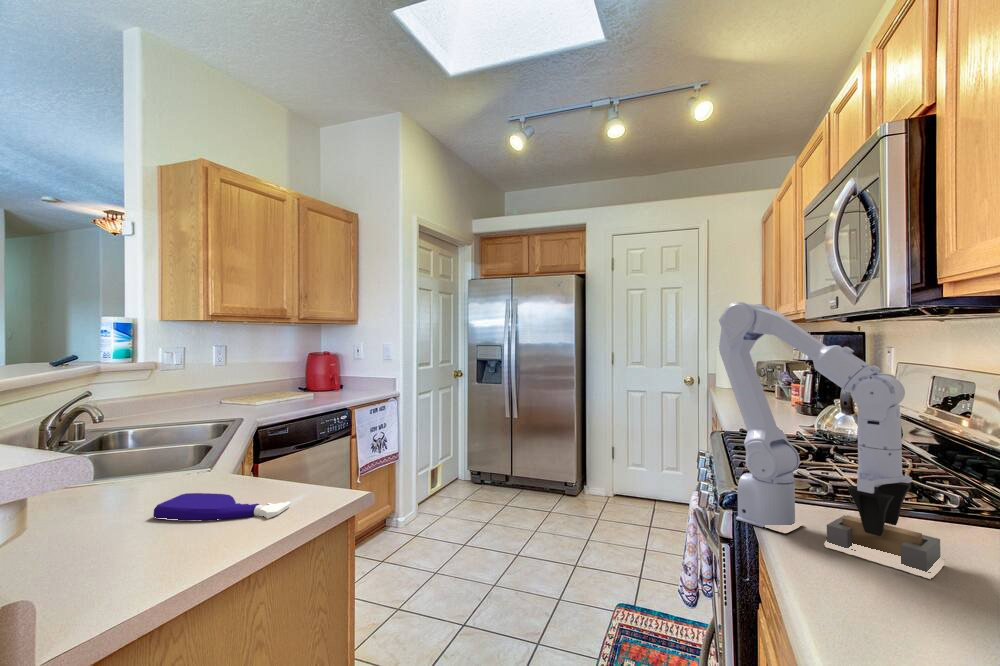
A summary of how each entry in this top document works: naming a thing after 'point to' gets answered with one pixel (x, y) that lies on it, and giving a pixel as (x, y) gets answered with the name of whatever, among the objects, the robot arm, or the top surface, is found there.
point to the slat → (885, 542)
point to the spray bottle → (213, 508)
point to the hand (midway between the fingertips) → (880, 528)
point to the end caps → (910, 553)
